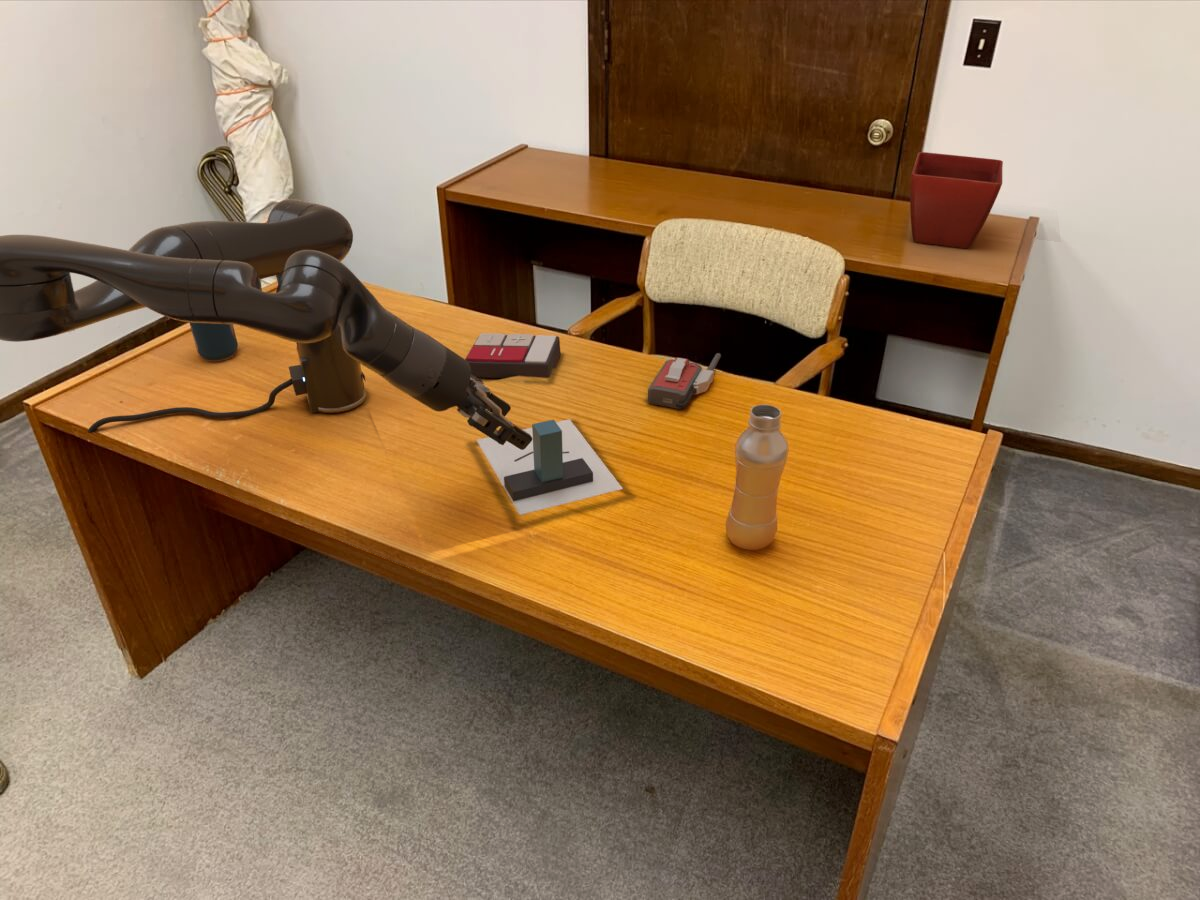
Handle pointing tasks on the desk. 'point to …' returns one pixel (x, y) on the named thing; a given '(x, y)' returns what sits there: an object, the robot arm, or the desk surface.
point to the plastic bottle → (757, 479)
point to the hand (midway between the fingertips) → (516, 427)
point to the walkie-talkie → (680, 382)
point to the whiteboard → (573, 447)
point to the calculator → (513, 355)
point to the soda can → (214, 340)
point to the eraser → (547, 466)
